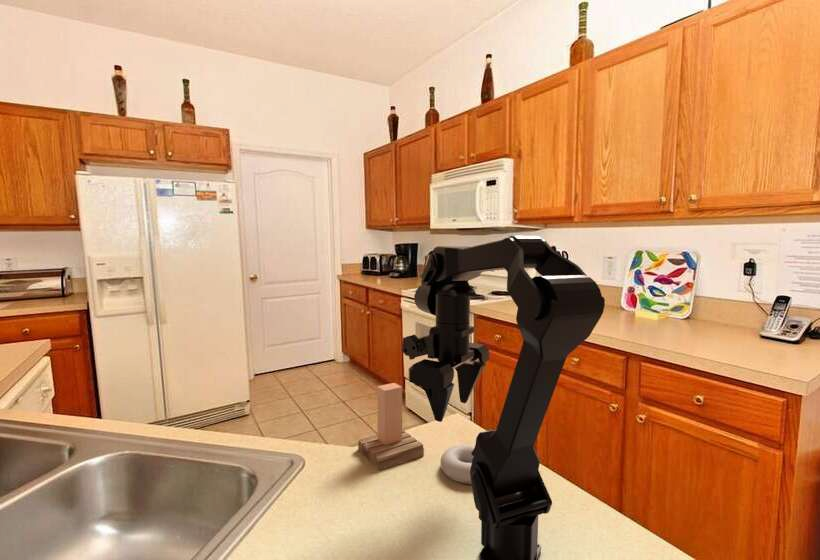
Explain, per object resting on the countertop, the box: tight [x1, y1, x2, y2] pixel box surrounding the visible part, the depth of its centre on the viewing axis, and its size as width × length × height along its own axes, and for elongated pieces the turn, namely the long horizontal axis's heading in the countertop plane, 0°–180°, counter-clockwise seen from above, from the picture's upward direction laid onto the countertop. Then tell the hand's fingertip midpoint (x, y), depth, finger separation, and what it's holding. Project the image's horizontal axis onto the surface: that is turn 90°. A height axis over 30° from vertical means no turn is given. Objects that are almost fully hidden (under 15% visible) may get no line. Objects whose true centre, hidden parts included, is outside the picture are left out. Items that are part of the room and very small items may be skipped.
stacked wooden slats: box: [357, 428, 425, 471], centre depth 80 cm, size 9×10×2 cm
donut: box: [440, 444, 475, 485], centre depth 73 cm, size 10×4×10 cm
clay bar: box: [376, 382, 403, 445], centre depth 80 cm, size 3×4×11 cm
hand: (451, 411), depth 68 cm, fingers open, 9 cm apart
